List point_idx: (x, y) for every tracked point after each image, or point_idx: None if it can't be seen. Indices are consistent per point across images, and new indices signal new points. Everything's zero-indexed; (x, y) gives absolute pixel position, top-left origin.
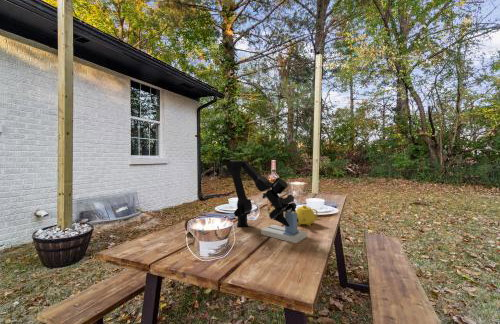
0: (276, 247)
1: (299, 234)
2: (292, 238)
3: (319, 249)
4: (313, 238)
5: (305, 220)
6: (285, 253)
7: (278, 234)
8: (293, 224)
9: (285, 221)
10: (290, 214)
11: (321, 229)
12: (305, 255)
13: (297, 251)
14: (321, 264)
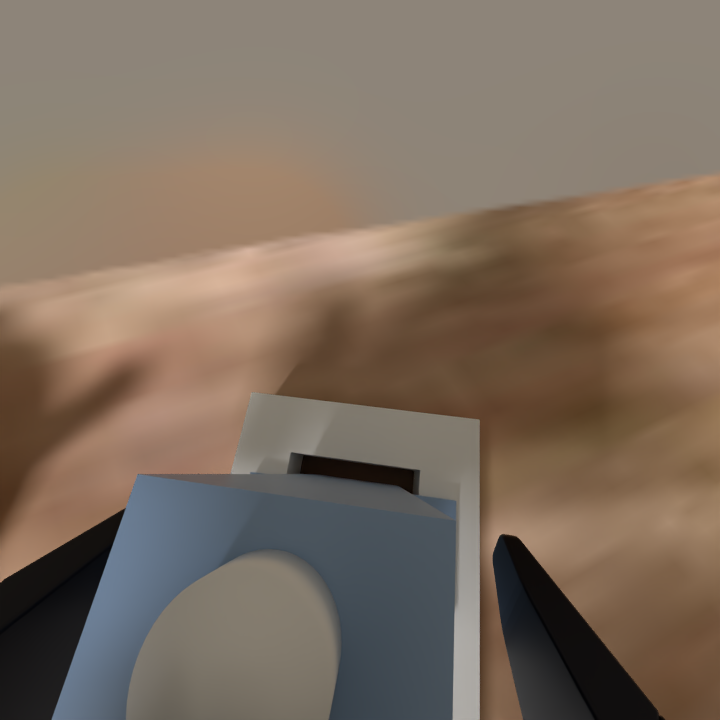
0: (679, 560)
1: (354, 428)
2: (475, 462)
3: (463, 251)
4: (278, 343)
5: None
6: (715, 422)
7: (478, 695)
8: (399, 493)
9: (614, 669)
10: (452, 665)
11: (34, 353)
12: (620, 289)
13: (603, 356)
14: (655, 189)
